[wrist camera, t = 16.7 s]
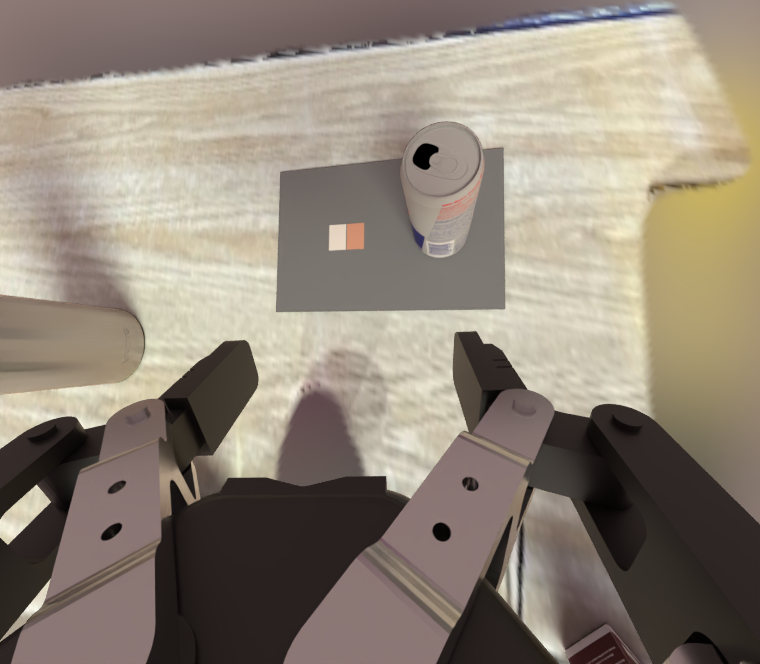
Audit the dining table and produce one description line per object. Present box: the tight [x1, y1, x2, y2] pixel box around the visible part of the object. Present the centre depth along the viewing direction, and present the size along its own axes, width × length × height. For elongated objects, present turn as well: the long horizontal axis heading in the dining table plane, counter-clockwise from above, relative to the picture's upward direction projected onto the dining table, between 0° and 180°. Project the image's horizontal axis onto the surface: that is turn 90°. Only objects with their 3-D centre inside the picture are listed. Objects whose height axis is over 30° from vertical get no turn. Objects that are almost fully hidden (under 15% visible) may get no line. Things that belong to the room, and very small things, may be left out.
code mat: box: [276, 148, 505, 312], centre depth 32 cm, size 24×16×1 cm, turn 89°
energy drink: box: [400, 121, 484, 258], centre depth 24 cm, size 5×5×12 cm
